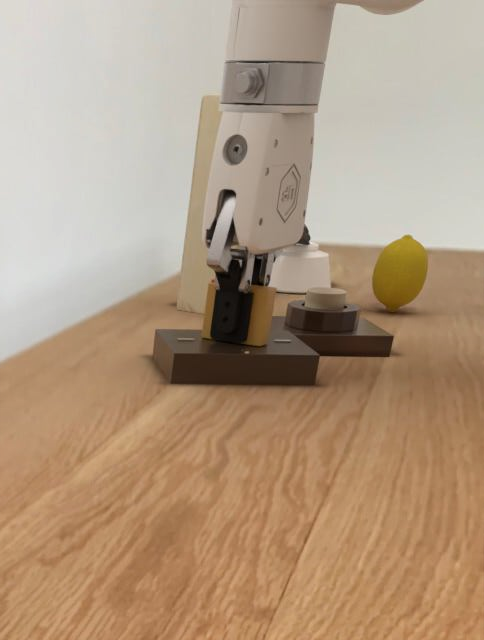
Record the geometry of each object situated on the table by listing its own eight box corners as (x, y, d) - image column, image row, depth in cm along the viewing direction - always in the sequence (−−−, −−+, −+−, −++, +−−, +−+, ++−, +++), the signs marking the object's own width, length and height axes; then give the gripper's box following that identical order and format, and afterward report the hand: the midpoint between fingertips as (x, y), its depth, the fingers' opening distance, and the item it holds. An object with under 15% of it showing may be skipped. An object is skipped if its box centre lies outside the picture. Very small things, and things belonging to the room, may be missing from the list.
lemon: (417, 318, 121) (435, 239, 117) (364, 314, 123) (380, 236, 118) (417, 310, 125) (435, 233, 121) (366, 306, 127) (381, 230, 123)
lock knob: (268, 343, 94) (277, 284, 92) (260, 346, 93) (269, 286, 91) (209, 335, 97) (217, 277, 95) (200, 337, 96) (208, 279, 94)
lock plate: (282, 365, 101) (289, 328, 99) (313, 392, 92) (320, 353, 91) (151, 363, 101) (155, 327, 100) (169, 390, 93) (174, 351, 91)
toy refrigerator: (233, 319, 120) (265, 94, 109) (174, 310, 124) (200, 93, 113) (268, 310, 125) (303, 94, 114) (211, 301, 129) (239, 92, 118)
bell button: (336, 306, 107) (340, 287, 106) (348, 313, 104) (352, 294, 103) (299, 306, 107) (302, 287, 106) (309, 313, 104) (313, 293, 103)
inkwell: (338, 285, 139) (355, 197, 134) (304, 308, 126) (321, 211, 120) (265, 279, 143) (278, 193, 138) (224, 300, 130) (237, 206, 124)
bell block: (358, 340, 111) (367, 297, 109) (389, 360, 103) (398, 315, 101) (248, 338, 111) (255, 296, 109) (270, 358, 103) (278, 313, 101)
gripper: (272, 92, 78) (233, 360, 88) (356, 91, 89) (313, 330, 98) (177, 90, 82) (150, 346, 92) (268, 89, 93) (235, 319, 102)
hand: (234, 336), depth 95 cm, fingers closed on lock knob
